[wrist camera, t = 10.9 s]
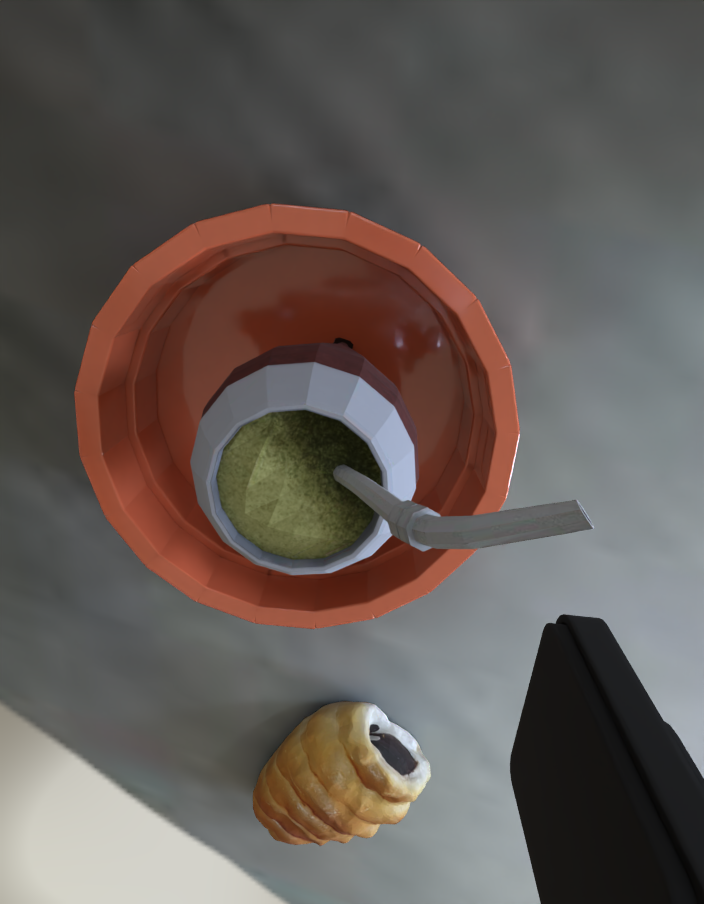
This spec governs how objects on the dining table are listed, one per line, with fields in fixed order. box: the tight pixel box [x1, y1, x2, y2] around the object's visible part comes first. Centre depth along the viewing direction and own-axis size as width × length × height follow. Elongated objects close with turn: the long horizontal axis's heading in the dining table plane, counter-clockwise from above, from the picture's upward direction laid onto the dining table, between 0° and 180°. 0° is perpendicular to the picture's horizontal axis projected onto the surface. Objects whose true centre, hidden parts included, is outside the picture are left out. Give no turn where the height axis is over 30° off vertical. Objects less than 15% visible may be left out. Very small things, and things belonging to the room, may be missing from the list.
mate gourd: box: [190, 337, 595, 575], centre depth 16 cm, size 8×8×15 cm
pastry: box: [253, 701, 431, 846], centre depth 28 cm, size 9×7×4 cm
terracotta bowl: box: [74, 203, 520, 629], centre depth 21 cm, size 15×15×5 cm
